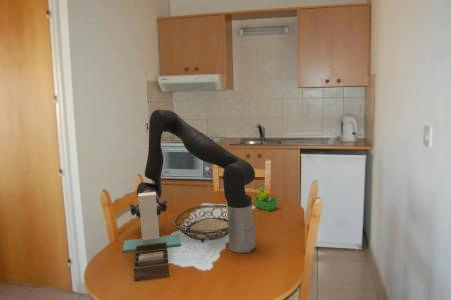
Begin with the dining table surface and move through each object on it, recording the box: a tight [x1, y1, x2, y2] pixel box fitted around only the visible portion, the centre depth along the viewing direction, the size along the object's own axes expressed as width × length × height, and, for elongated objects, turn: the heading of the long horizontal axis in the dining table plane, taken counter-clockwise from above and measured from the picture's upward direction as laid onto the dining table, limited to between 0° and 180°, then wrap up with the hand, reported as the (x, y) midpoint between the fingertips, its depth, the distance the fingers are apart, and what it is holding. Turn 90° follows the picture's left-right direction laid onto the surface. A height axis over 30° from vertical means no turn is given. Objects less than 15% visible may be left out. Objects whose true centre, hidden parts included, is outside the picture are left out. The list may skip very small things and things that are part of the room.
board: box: [121, 234, 182, 254], centre depth 149 cm, size 10×22×2 cm, turn 101°
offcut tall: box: [138, 256, 164, 267], centre depth 123 cm, size 2×8×6 cm, turn 101°
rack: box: [133, 242, 170, 282], centre depth 130 cm, size 19×11×5 cm, turn 11°
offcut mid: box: [139, 253, 163, 258], centre depth 127 cm, size 2×8×4 cm, turn 101°
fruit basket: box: [253, 187, 279, 212], centre depth 190 cm, size 11×9×11 cm
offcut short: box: [140, 251, 163, 256], centre depth 132 cm, size 2×8×4 cm, turn 101°
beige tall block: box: [137, 192, 160, 240], centre depth 134 cm, size 4×6×16 cm, turn 101°
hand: (148, 213), depth 131 cm, fingers closed on beige tall block, 6 cm apart
